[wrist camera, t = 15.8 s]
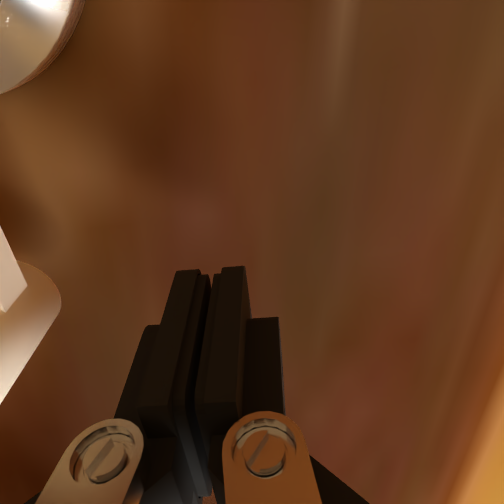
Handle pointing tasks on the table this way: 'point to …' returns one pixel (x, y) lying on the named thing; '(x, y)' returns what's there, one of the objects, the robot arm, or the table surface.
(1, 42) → the crank base
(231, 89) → the table surface
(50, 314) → the crank
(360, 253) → the table surface
